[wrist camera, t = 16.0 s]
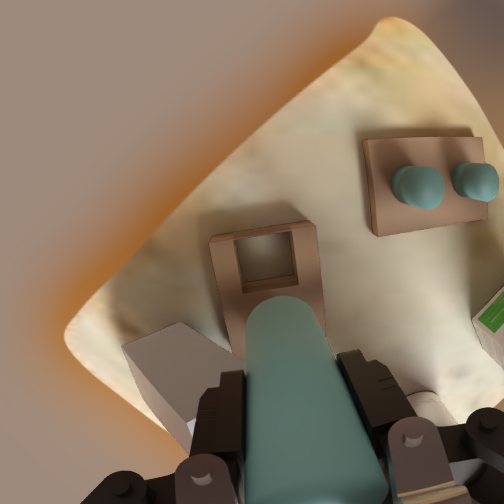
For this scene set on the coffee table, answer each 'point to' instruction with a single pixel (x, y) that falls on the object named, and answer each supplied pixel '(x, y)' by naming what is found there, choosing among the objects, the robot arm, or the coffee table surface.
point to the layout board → (422, 158)
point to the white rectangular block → (177, 375)
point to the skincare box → (492, 327)
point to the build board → (253, 293)
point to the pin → (302, 416)
